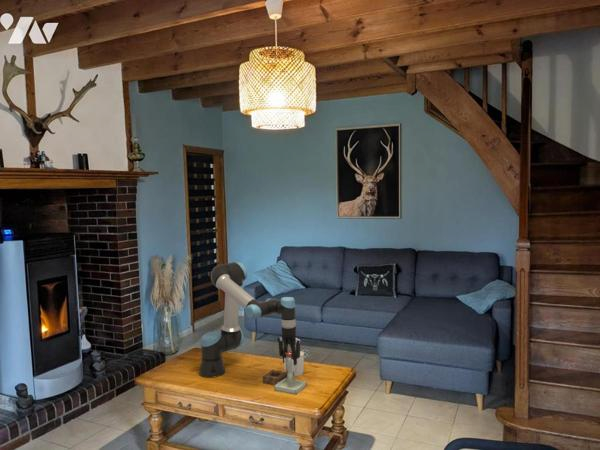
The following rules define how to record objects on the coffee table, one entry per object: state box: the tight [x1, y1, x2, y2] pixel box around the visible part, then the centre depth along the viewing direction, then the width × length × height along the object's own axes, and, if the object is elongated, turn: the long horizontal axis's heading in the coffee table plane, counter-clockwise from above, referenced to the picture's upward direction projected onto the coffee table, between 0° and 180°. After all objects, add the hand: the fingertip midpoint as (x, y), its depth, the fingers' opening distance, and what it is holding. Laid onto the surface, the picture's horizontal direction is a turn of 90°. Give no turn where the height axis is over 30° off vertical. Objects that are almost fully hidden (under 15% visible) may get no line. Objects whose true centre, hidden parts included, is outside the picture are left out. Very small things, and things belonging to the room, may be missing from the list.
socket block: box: [262, 369, 287, 386], centre depth 256 cm, size 10×10×4 cm
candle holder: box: [294, 350, 305, 377], centre depth 266 cm, size 10×10×12 cm
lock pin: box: [285, 349, 295, 382], centre depth 245 cm, size 5×5×16 cm
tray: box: [273, 378, 307, 396], centre depth 246 cm, size 13×12×3 cm
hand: (290, 369), depth 245 cm, fingers closed on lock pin, 4 cm apart
